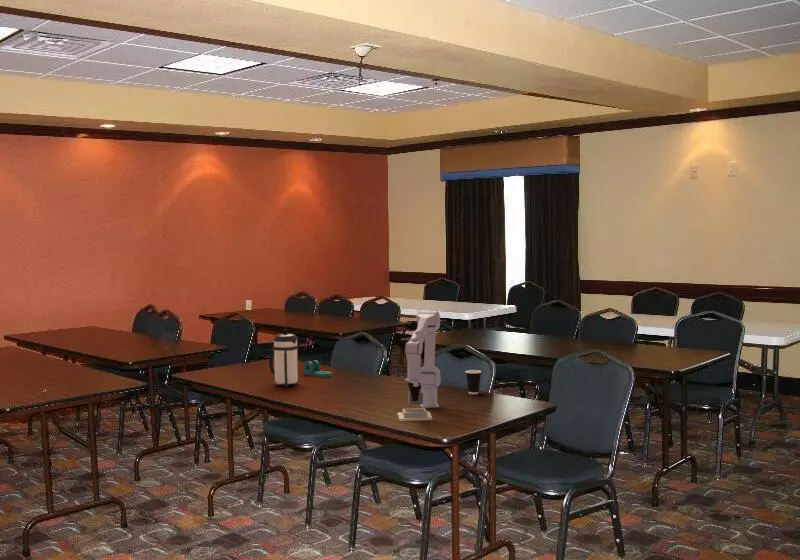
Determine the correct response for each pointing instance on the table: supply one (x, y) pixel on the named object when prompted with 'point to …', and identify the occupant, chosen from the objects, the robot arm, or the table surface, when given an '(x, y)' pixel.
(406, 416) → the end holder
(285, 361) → the coffee press
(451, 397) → the table surface
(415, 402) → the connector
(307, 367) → the bracket
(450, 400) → the table surface
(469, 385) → the dixie cup
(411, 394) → the robot arm
